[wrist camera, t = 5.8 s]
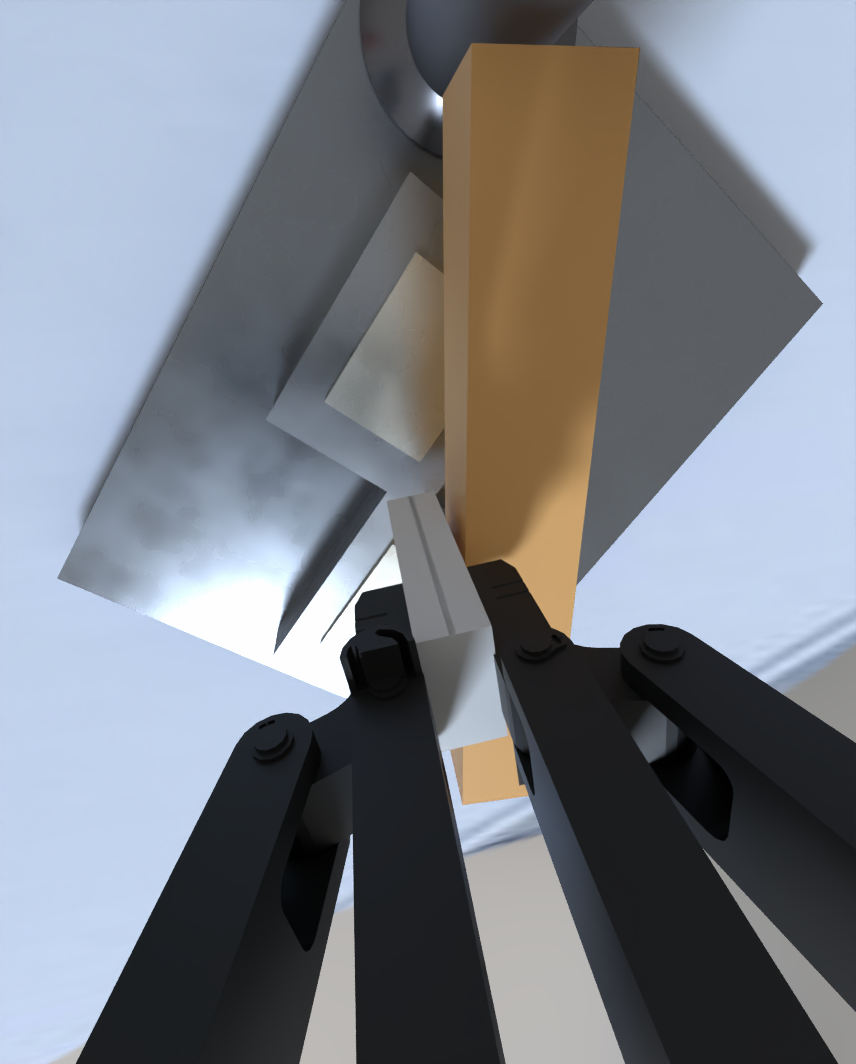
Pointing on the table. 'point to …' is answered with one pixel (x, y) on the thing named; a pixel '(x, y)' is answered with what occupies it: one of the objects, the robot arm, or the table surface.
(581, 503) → the hammer
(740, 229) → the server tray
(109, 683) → the table surface
